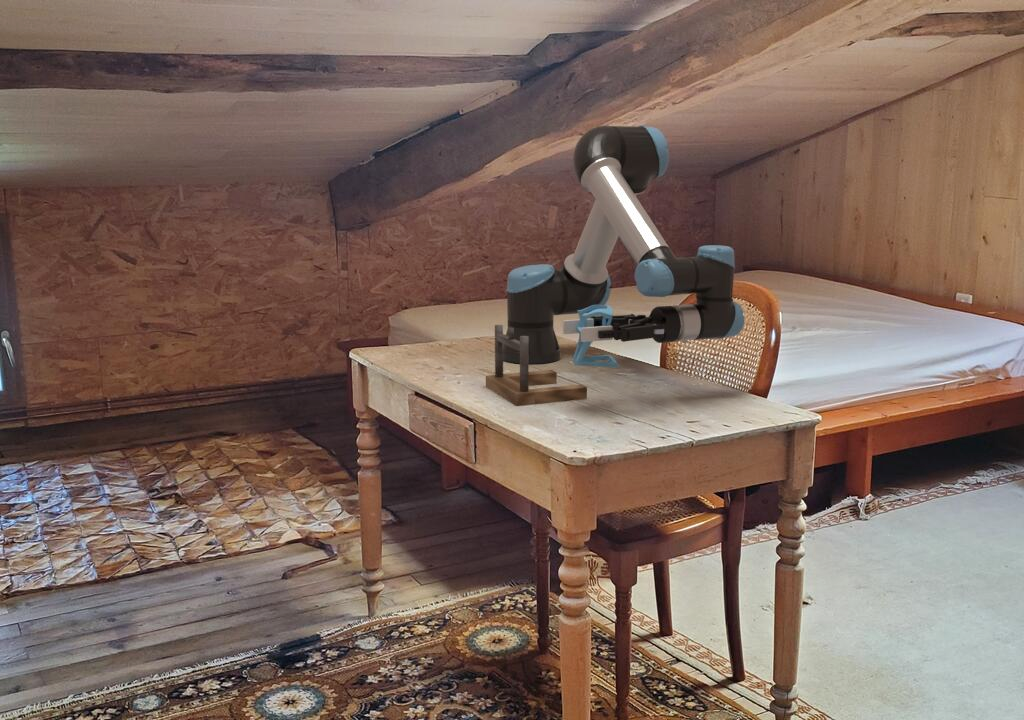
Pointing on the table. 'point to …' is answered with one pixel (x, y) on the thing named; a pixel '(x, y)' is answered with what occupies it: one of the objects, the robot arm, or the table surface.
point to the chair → (583, 346)
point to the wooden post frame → (526, 376)
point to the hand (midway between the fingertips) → (572, 331)
